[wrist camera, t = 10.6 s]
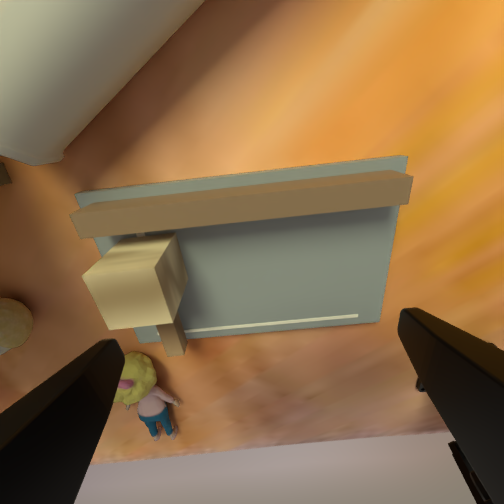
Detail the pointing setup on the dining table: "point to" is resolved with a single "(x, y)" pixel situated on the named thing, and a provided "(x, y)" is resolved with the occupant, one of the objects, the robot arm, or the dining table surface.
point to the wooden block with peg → (142, 287)
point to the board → (265, 242)
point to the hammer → (14, 324)
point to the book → (4, 175)
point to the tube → (72, 65)
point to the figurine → (145, 394)
